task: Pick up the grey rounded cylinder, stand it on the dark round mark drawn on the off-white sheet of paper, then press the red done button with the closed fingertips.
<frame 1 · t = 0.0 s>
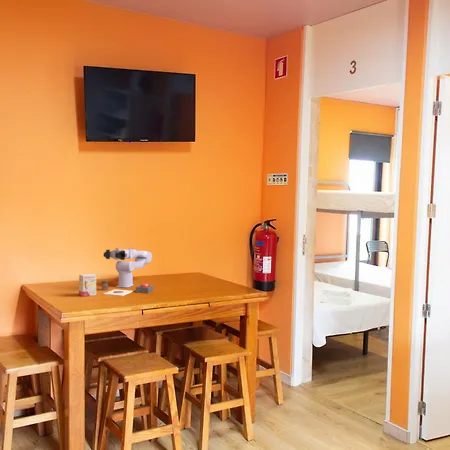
hand: (110, 255, 315), 22 cm above the table, tool horizontal, fingers open, 7 cm apart
done button: (144, 286, 320), point 3 cm above the table, slide at 0.0 cm
button housing: (144, 291, 320), on the table
grey rounded cylinder: (104, 289, 323), on the table
paper sheet: (118, 293, 314), on the table
ink box: (87, 295, 306), on the table
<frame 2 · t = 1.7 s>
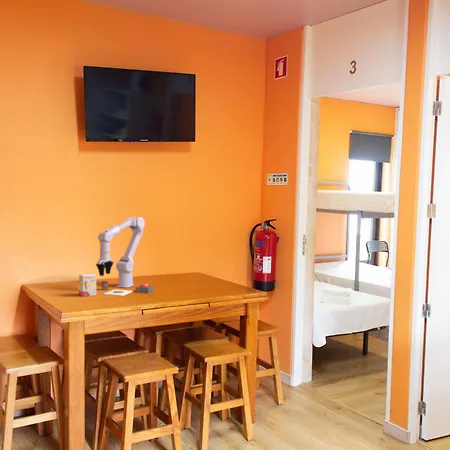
hand: (104, 274, 322), 9 cm above the table, tool pointing down, fingers open, 7 cm apart
nothing on the table moved.
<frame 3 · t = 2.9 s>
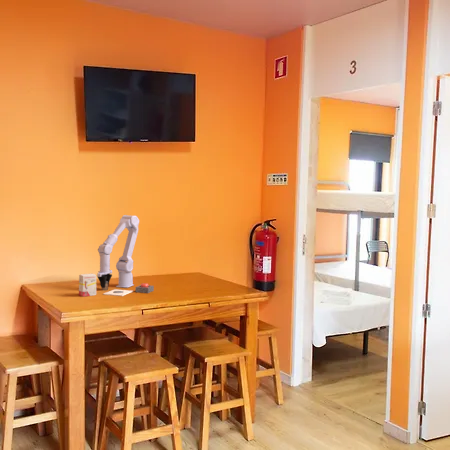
hand: (104, 287, 323), 2 cm above the table, tool pointing down, fingers closed on grey rounded cylinder, 4 cm apart
grey rounded cylinder: (104, 289, 323), on the table, touching gripper
everything else where it was.
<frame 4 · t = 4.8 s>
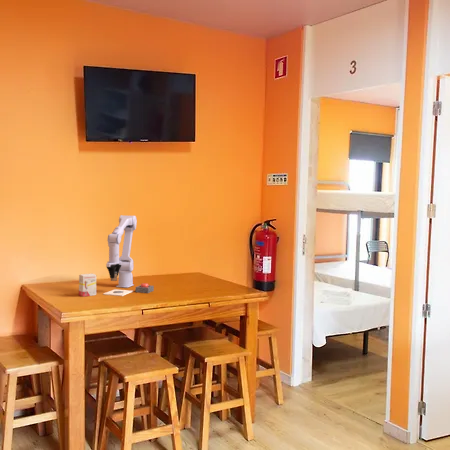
hand: (113, 277, 316), 8 cm above the table, tool pointing down, fingers closed on grey rounded cylinder, 4 cm apart
grey rounded cylinder: (113, 280, 316), point 7 cm above the table, touching gripper
everything else where it was.
when the fingers open (3 cm above the table, at t = 6.4 s): grey rounded cylinder drops 1 cm, resting on paper sheet.
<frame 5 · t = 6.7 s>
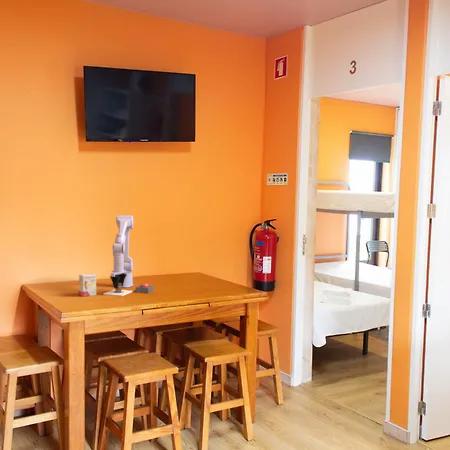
hand: (118, 287, 314), 3 cm above the table, tool pointing down, fingers open, 6 cm apart
grey rounded cylinder: (118, 292, 314), point 1 cm above the table, touching paper sheet
everything else where it was.
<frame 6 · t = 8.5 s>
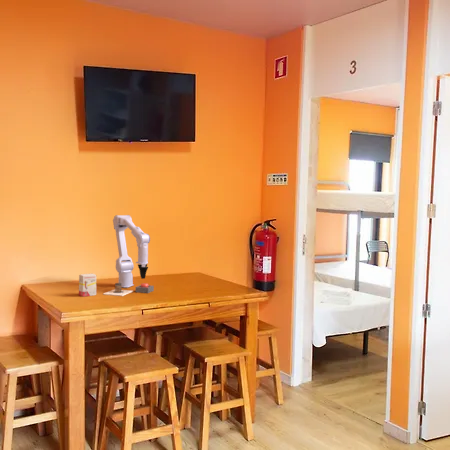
hand: (142, 277, 319), 8 cm above the table, tool pointing down, fingers open, 7 cm apart
nothing on the table moved.
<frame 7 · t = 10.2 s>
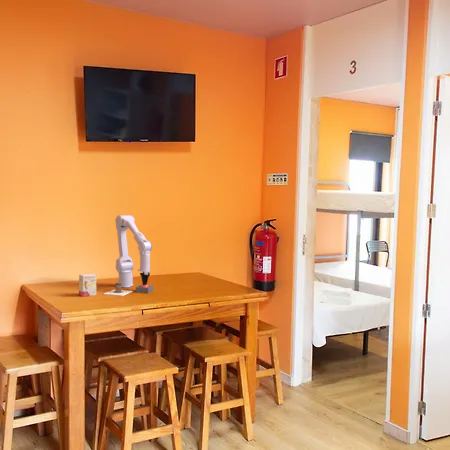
hand: (144, 284, 320), 4 cm above the table, tool pointing down, fingers closed, pressing on done button
done button: (144, 286, 320), point 3 cm above the table, slide at 0.6 cm, touching gripper
everything else where it was.
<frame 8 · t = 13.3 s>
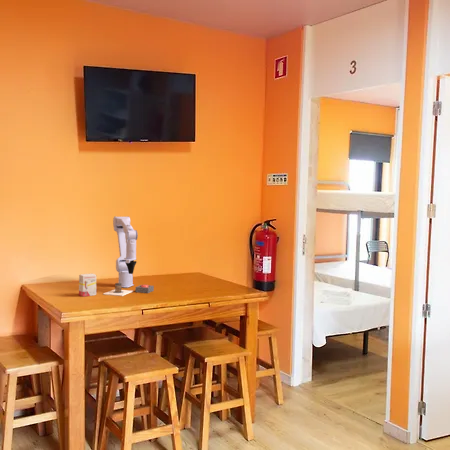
hand: (130, 273, 320), 10 cm above the table, tool pointing down, fingers closed
done button: (144, 287, 320), point 2 cm above the table, slide at 0.8 cm
everything else where it was.
at the end: grey rounded cylinder 0.1 cm off-centre on the paper sheet, point 0.6 cm above the paper sheet's base; grey rounded cylinder tilted 0°; done button slide at 0.8 cm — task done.
